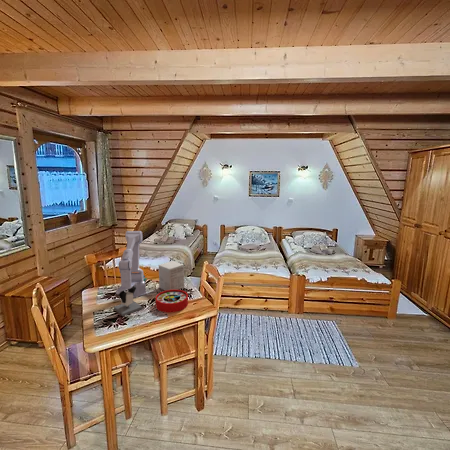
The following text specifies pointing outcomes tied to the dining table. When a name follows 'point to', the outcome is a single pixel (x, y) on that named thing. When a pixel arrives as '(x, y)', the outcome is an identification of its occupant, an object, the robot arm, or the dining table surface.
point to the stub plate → (127, 308)
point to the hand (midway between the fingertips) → (127, 300)
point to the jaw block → (128, 299)
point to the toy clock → (171, 301)
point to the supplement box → (171, 276)
